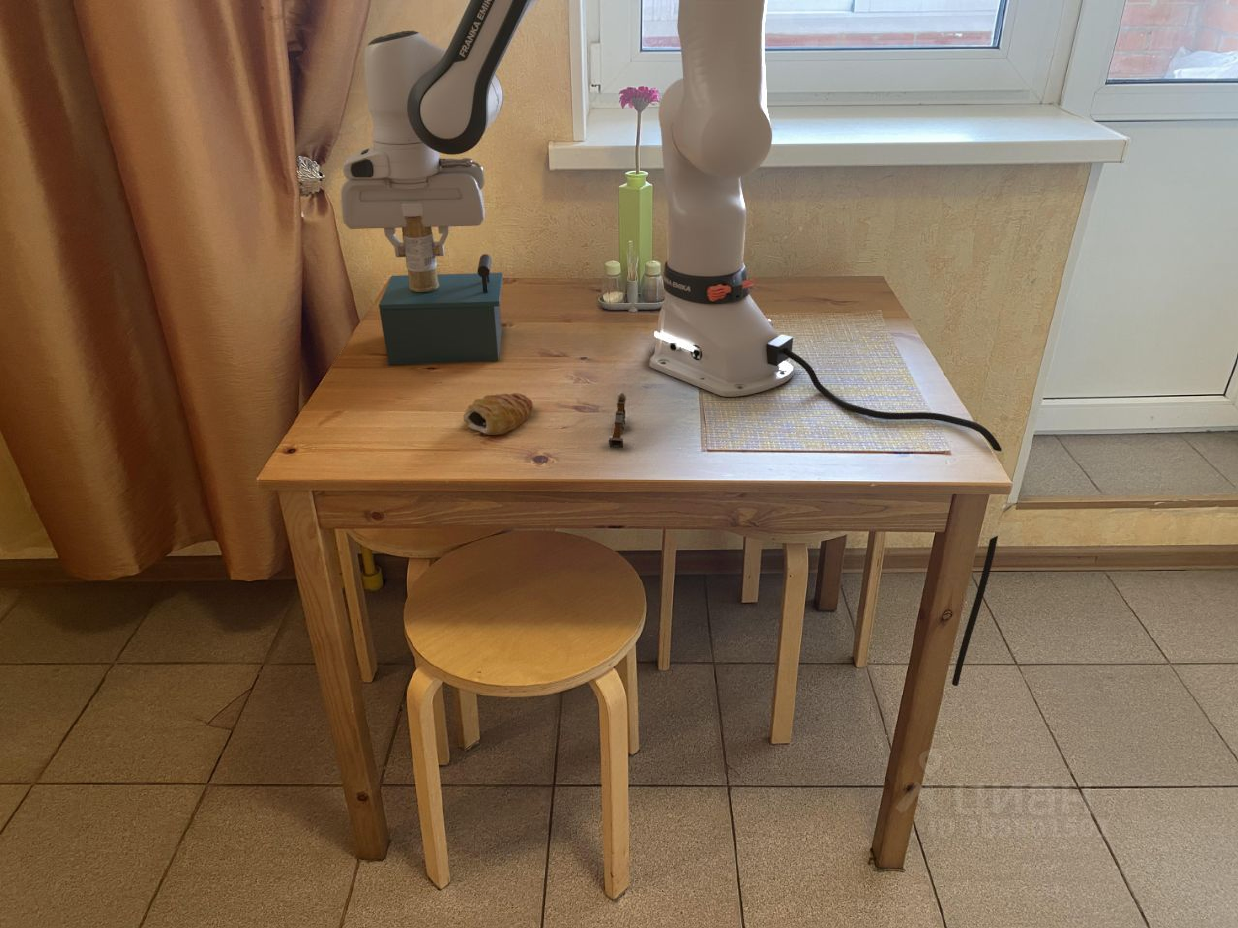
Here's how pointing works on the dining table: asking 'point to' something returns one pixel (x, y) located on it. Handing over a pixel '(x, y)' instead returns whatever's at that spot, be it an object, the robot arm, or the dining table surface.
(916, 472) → the dining table surface
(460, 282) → the lid
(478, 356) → the chest
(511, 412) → the pastry
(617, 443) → the wooden post with brackets
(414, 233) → the sprinkles bottle
